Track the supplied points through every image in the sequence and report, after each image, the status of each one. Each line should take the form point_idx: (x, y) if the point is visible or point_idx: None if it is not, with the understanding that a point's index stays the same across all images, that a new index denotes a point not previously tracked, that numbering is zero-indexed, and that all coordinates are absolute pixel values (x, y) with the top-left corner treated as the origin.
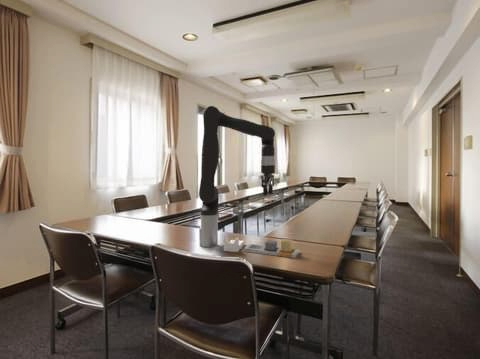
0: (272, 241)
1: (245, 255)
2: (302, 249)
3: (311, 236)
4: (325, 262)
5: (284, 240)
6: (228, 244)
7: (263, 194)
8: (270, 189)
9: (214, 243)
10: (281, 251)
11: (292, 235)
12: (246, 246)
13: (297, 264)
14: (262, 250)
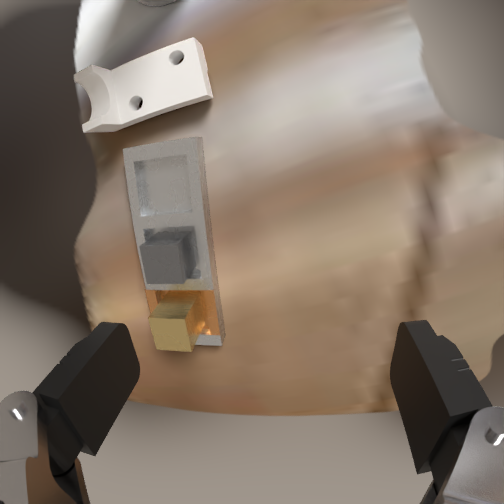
0: (170, 267)
1: (116, 168)
2: (293, 332)
3: (481, 313)
4: (197, 396)
5: (163, 327)
6: (91, 95)
7: (100, 326)
8: (417, 412)
9: (146, 2)
10: (163, 298)
11: (485, 241)
12: (149, 144)
13: (139, 342)
14: (136, 230)
